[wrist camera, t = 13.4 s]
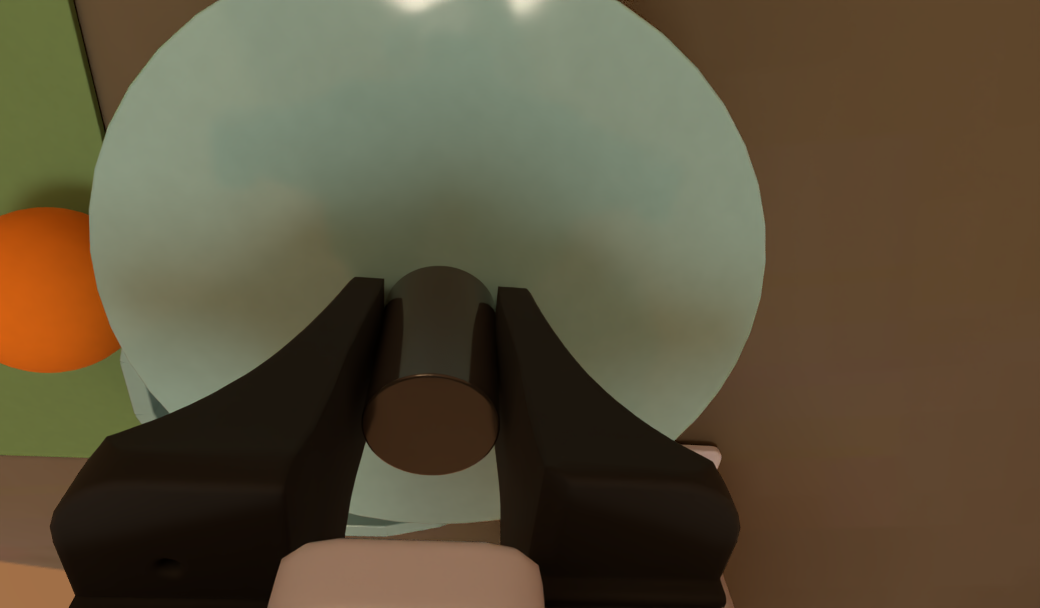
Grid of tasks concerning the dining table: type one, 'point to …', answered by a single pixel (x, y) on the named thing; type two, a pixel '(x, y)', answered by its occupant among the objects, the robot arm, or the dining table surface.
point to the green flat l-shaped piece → (61, 184)
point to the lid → (429, 215)
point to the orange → (50, 293)
